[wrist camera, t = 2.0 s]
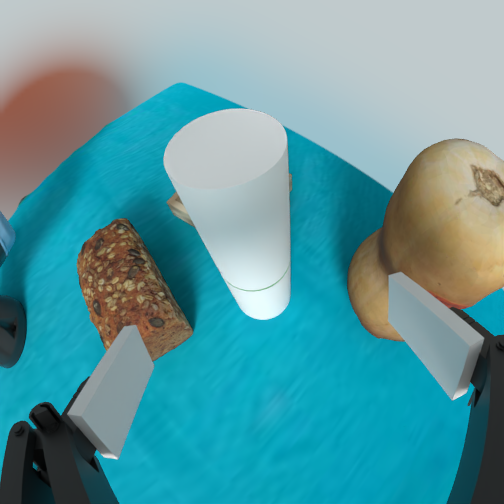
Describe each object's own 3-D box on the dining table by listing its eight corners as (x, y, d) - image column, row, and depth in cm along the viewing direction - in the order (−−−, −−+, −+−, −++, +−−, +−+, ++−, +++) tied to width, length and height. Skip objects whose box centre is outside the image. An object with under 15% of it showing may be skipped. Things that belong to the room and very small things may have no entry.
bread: (201, 334, 35) (172, 314, 27) (139, 373, 33) (97, 364, 25) (147, 238, 44) (118, 202, 35) (98, 274, 42) (62, 245, 33)
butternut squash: (330, 340, 33) (406, 238, 11) (346, 247, 38) (388, 89, 16) (427, 354, 29) (571, 282, 8) (431, 264, 35) (522, 140, 13)
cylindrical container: (271, 259, 39) (246, 97, 17) (301, 300, 36) (313, 150, 14) (227, 286, 38) (150, 142, 16) (253, 329, 35) (189, 213, 13)
